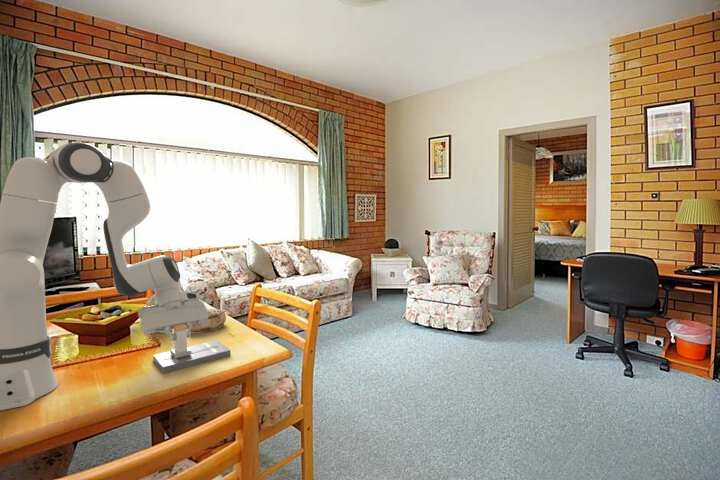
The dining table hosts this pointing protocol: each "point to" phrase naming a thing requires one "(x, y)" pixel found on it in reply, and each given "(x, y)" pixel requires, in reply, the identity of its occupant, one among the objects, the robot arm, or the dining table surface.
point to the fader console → (191, 356)
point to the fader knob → (180, 342)
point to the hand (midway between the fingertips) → (181, 338)
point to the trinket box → (210, 321)
